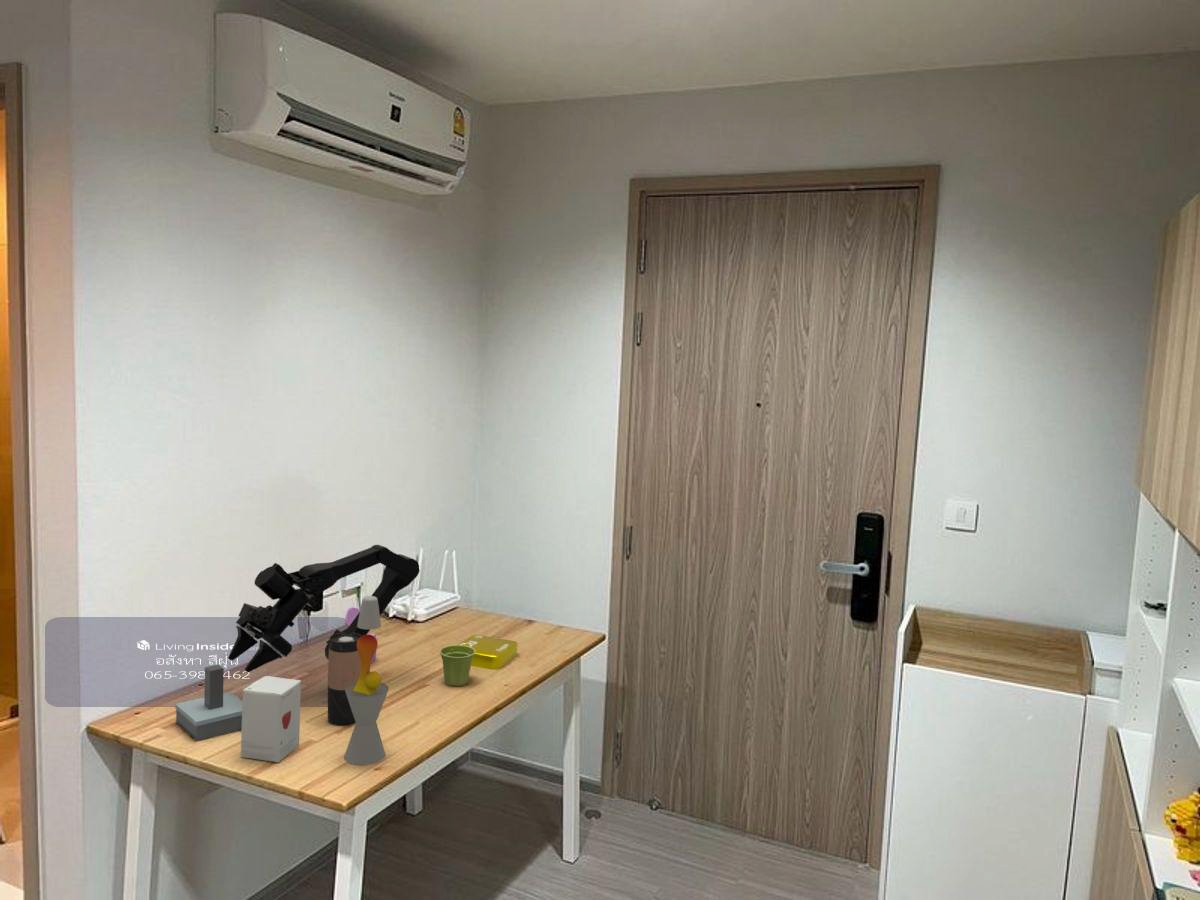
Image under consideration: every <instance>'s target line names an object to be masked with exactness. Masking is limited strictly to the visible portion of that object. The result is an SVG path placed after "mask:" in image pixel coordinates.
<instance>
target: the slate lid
mask: <svg viewBox="0 0 1200 900" xmlns="http://www.w3.org/2000/svg"><path fill="white" fill-rule="evenodd" d="M224 671H225V670H224V667H223V666H221V665H219V664H215V665H211V666H206V667H204V697H199V698H196V699H192V700H191V699H190V700H186V701H182V702H179V703H175V704H174V709H175V710H176V709H177V710H178V711H179V712H180V713H181V714H182V715H184V716H185V717H186V718H187V719H188V720H189V721H190V722H192V723H193V724H194V725H195V726H200V725H204V724H208V723H212V722H216V721H220V720H224V719H228V718H233V717H237V716H241V715H242V699H240V697H238V696H236V695H235V694H234V693H233V692H231V691H226V692H224V674H225V673H224Z"/></svg>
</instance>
